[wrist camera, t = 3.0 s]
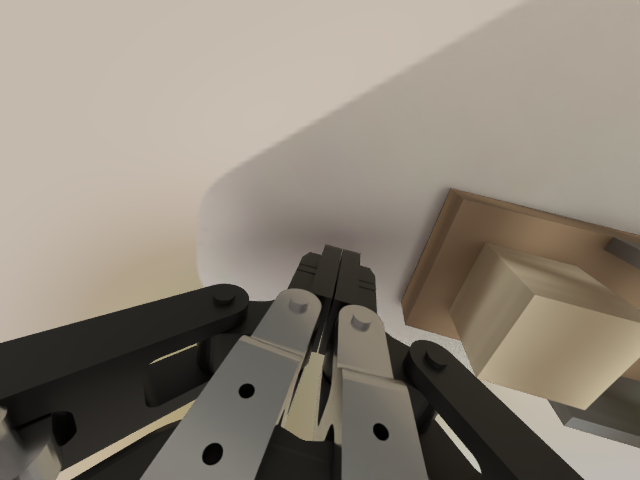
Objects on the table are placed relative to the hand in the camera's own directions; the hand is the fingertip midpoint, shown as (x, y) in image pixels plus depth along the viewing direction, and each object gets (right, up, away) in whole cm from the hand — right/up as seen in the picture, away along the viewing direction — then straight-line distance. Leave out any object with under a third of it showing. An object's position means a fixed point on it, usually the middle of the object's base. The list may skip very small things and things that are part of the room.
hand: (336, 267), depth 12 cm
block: (+8, -1, +1) cm, 8 cm away
